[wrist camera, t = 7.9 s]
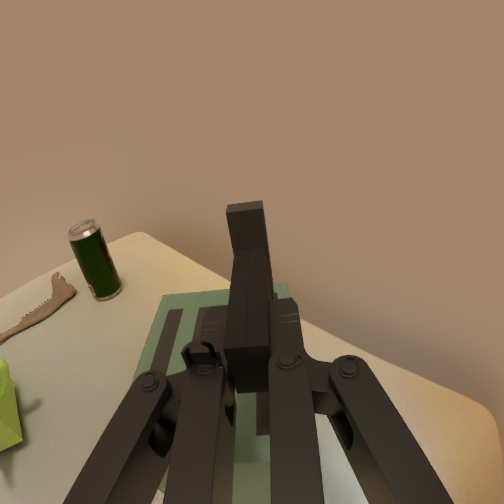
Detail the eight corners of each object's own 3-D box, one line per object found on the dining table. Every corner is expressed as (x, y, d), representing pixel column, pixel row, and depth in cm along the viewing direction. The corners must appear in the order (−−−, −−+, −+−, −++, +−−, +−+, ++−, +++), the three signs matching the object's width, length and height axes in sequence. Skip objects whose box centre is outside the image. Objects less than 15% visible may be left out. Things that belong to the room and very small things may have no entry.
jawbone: (89, 285, 49) (85, 275, 48) (19, 363, 33) (12, 354, 32) (59, 278, 52) (56, 270, 51) (-6, 346, 35) (-12, 337, 34)
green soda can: (104, 305, 43) (74, 236, 37) (89, 296, 45) (61, 232, 40) (128, 287, 46) (103, 219, 41) (112, 279, 49) (88, 217, 43)
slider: (278, 300, 21) (265, 196, 18) (280, 323, 19) (266, 211, 16) (244, 304, 22) (224, 201, 18) (243, 327, 20) (220, 217, 16)
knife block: (295, 368, 29) (289, 280, 23) (309, 504, 16) (314, 461, 11) (195, 376, 30) (161, 293, 24) (175, 504, 17) (106, 454, 12)
